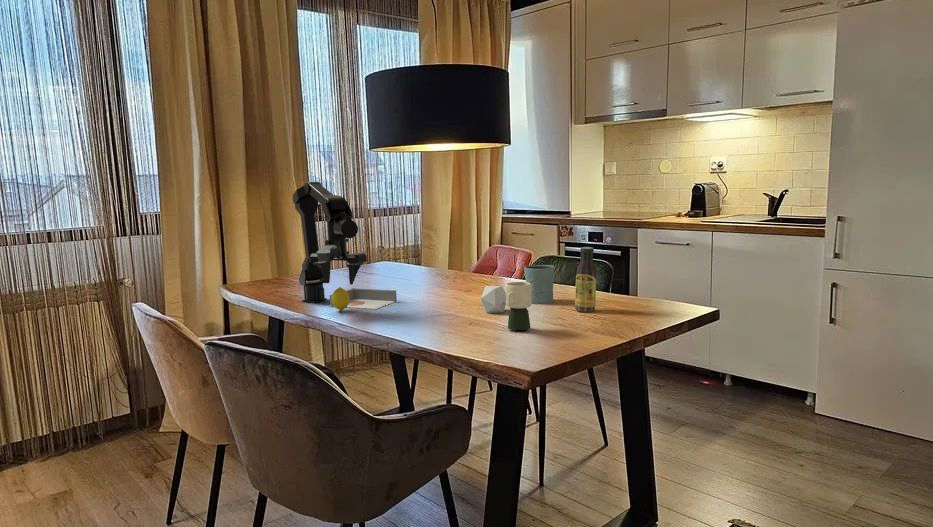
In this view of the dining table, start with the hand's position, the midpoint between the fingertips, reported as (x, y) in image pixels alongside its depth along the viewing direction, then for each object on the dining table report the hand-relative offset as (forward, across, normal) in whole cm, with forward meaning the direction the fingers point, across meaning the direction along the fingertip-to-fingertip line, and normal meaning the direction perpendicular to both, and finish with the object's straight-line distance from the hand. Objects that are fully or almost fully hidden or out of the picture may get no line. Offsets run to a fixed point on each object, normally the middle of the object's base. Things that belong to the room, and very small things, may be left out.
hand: (339, 283), depth 203 cm
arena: (+9, +1, +12) cm, 15 cm away
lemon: (+9, 0, 0) cm, 9 cm away
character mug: (+9, +64, -7) cm, 65 cm away
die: (+9, +49, +13) cm, 52 cm away
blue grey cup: (+9, +58, +32) cm, 67 cm away
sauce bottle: (+9, +76, +22) cm, 80 cm away
